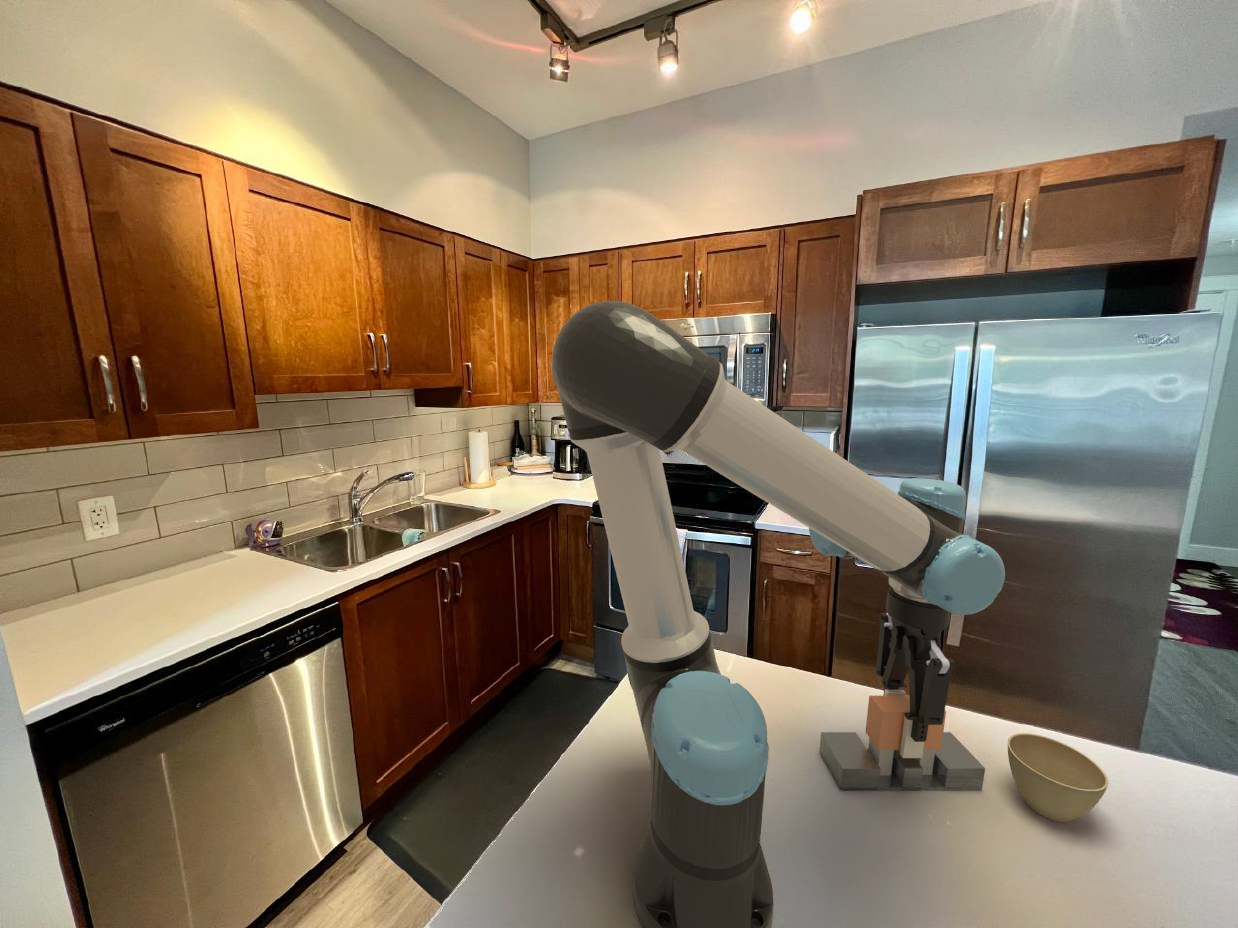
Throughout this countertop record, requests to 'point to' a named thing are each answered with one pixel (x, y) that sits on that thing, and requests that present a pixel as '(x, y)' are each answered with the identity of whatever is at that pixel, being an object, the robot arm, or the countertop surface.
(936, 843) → the countertop surface
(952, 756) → the grey block fixture
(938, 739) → the orange block
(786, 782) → the countertop surface
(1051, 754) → the beige planter bowl
